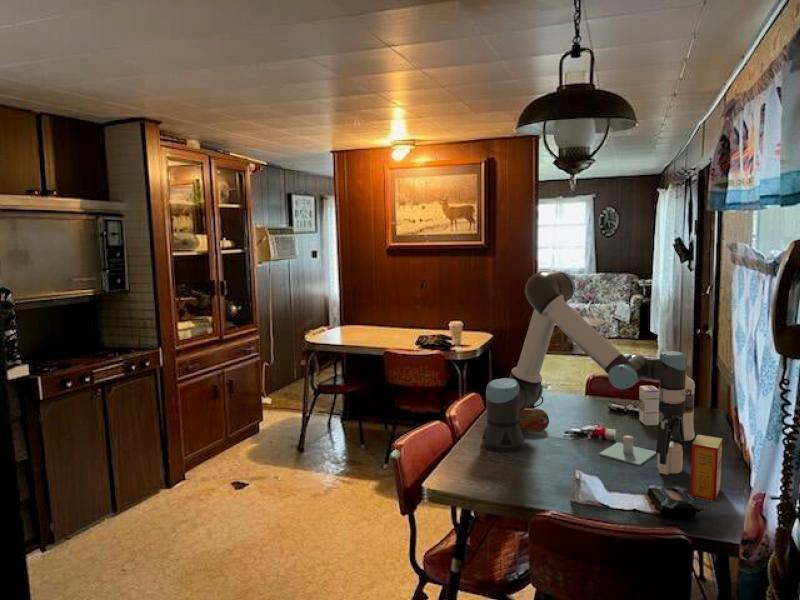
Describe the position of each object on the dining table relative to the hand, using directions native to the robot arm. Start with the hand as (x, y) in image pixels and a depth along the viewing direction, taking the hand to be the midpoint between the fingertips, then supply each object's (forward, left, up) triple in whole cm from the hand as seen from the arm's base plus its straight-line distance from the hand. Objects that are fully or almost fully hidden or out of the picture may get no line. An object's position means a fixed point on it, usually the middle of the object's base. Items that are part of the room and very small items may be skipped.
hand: (669, 468), depth 187 cm
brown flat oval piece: (+2, +54, -1) cm, 54 cm away
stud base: (+3, +15, 0) cm, 15 cm away
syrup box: (+39, +23, 0) cm, 45 cm away
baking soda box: (-10, -14, 0) cm, 17 cm away
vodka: (+31, +8, 0) cm, 32 cm away
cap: (0, 0, 0) cm, 0 cm away
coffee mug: (+18, +65, 0) cm, 68 cm away
